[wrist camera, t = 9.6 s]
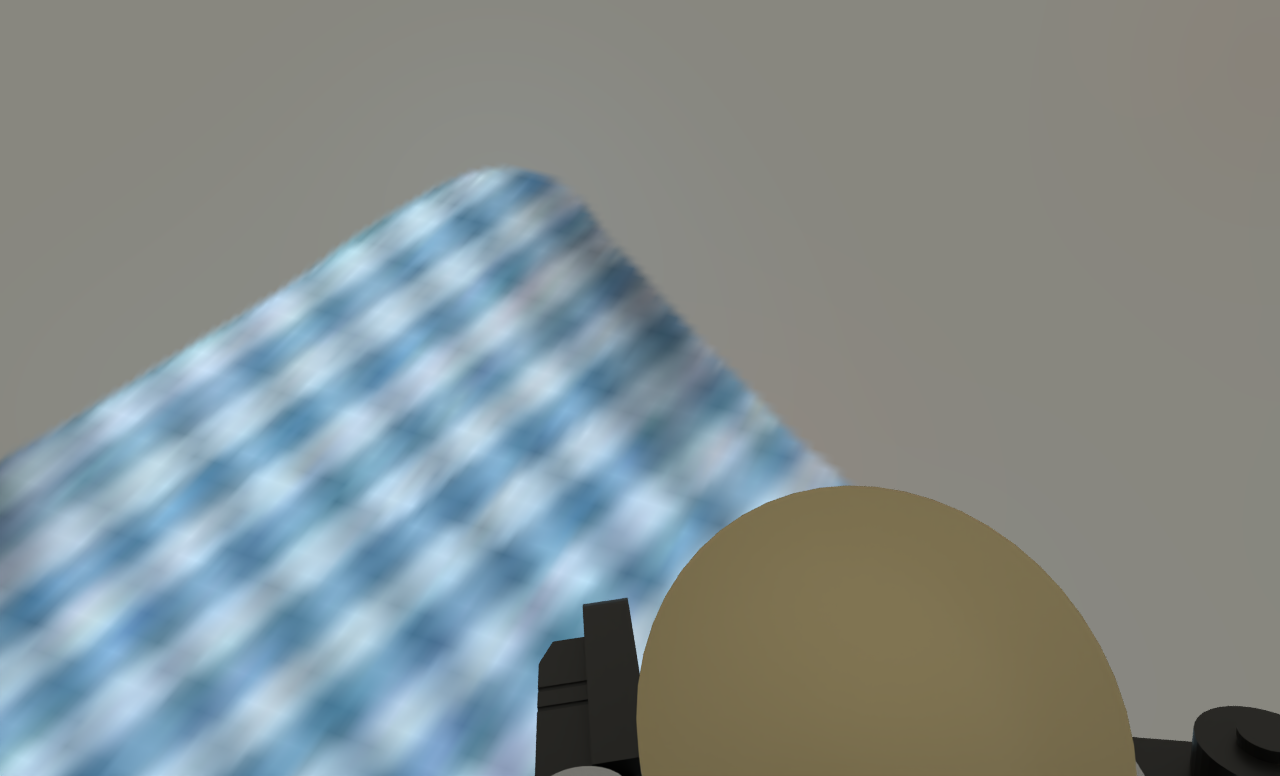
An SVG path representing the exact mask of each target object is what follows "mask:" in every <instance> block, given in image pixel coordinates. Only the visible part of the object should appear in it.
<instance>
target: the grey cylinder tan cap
mask: <svg viewBox="0 0 1280 776" xmlns="http://www.w3.org/2000/svg"><path fill="white" fill-rule="evenodd" d="M636 722H637V735H638V749H639V759H640V768H641V774H642V776H1137V772H1136V762H1135V751H1134V743H1133V739H1132V734H1131V730H1130V725H1129V721H1128V716H1127V711H1126V708H1125V705H1124V702H1123V699H1122V697H1121V693H1120V691H1119V688H1118V685H1117V682H1116V679H1115V676H1114V674H1113V672H1112V670H1111V668H1110V666H1109V664H1108V661H1107V659H1106V657H1105V655H1104V653H1103V651H1102V649H1101V646H1100V645H1099V643H1098V641H1097V640H1096V638H1095V636H1094V635H1093V634H1092V631H1091V630H1090V628H1089V627H1088V625H1087V623H1086V622H1085V620H1084V619H1083V617H1082V616H1081V614H1080V613H1079V611H1078V610H1077V609H1076V608H1075V606H1074V605H1073V604H1072V602H1071V601H1070V600H1069V598H1068V597H1067V596H1066V594H1065V593H1064V592H1063V591H1062V589H1061V588H1060V587H1059V586H1058V585H1057V584H1056V583H1055V582H1054V581H1053V580H1052V578H1051V577H1050V576H1049V575H1048V574H1047V573H1046V572H1045V571H1044V570H1043V569H1042V568H1041V567H1040V566H1039V565H1038V564H1037V563H1036V562H1035V561H1033V560H1032V559H1031V558H1030V557H1029V556H1028V555H1027V554H1025V553H1024V552H1023V551H1022V550H1021V549H1020V548H1018V547H1017V546H1016V545H1015V544H1013V543H1012V542H1011V541H1009V540H1008V539H1006V538H1005V537H1003V536H1002V535H1001V534H999V533H997V532H996V531H995V530H993V529H992V528H990V527H989V526H987V525H985V524H984V523H982V522H980V521H978V520H976V519H975V518H973V517H971V516H969V515H967V514H965V513H964V512H962V511H959V510H957V509H955V508H952V507H950V506H947V505H945V504H942V503H940V502H937V501H935V500H932V499H929V498H926V497H922V496H919V495H915V494H911V493H908V492H904V491H898V490H892V489H885V488H879V487H866V486H838V487H825V488H817V489H812V490H808V491H803V492H798V493H793V494H790V495H788V496H785V497H782V498H779V499H776V500H773V501H770V502H767V503H765V504H763V505H761V506H760V507H758V508H756V509H754V510H752V511H750V512H748V513H746V514H744V515H742V516H741V517H739V518H738V519H736V520H735V521H733V522H732V523H730V524H729V525H728V526H726V527H725V528H723V529H722V530H720V531H719V532H718V533H717V534H716V535H715V536H714V537H713V538H711V539H710V540H709V541H708V542H707V543H706V544H705V545H704V546H703V547H702V548H700V549H699V551H698V552H697V553H696V554H695V555H694V557H693V558H692V559H691V560H690V561H689V563H688V564H687V565H686V566H685V567H684V568H683V570H682V571H681V572H680V574H679V575H678V577H677V579H676V580H675V582H674V583H673V585H672V587H671V588H670V590H669V591H668V593H667V595H666V596H665V598H664V600H663V603H662V605H661V607H660V609H659V611H658V613H657V616H656V618H655V620H654V622H653V625H652V628H651V631H650V634H649V638H648V641H647V644H646V647H645V651H644V654H643V660H642V665H641V671H640V677H639V683H638V695H637V716H636Z"/></svg>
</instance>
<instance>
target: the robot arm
mask: <svg viewBox="0 0 1280 776" xmlns="http://www.w3.org/2000/svg"><path fill="white" fill-rule="evenodd" d="M583 620H584V637H581V638H574V639H568V640H561V641H554V642H552V644H551V646H550V647H549V649H548V650H547V652H546V654H545V655H544V657H543V658H542V660H541V661H540V663H539V674H538V703H537V708H538V712H537V733H536V763H535V776H642V774H641V768H640V759H639V749H638V735H637V722H636V716H637V695H638V683H639V677H640V673H639V666H638V660H637V654H636V648H635V641H634V635H633V629H632V622H631V616H630V610H629V604H628V598H622V599H616V600H609V601H602V602H596V603H589V604H583ZM1132 739H1133V743H1134V751H1135V762H1136V772H1137V776H1280V715H1279V714H1277V713H1273V712H1269V711H1266V710H1261V709H1256V708H1251V707H1242V706H1226V707H1218V708H1214V709H1210V710H1208V711H1206V712H1204V713H1202V714H1201V715H1200V716H1199V717H1198V718H1197V720H1196V721H1195V724H1194V729H1193V739H1192V742H1188V741H1187V742H1186V741H1174V740H1161V739H1147V738H1137V737H1132Z"/></svg>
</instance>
